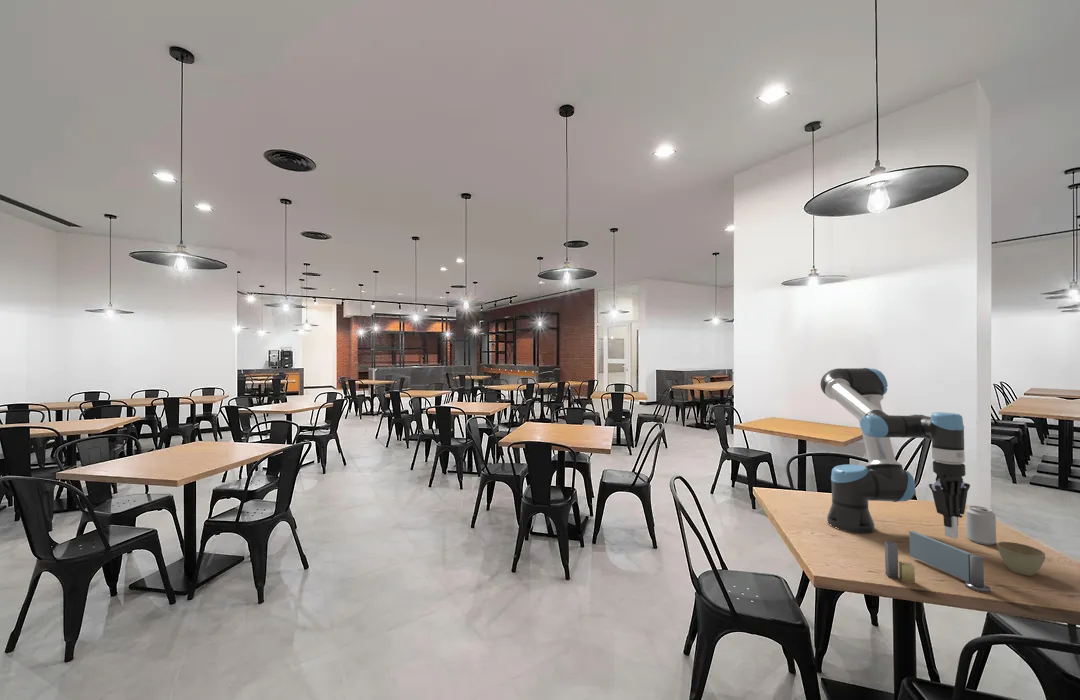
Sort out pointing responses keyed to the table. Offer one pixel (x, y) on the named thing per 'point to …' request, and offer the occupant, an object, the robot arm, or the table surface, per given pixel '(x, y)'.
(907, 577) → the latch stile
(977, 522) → the can
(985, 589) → the hinge flange
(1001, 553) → the olive beige bowl
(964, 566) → the gate
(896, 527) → the table surface
